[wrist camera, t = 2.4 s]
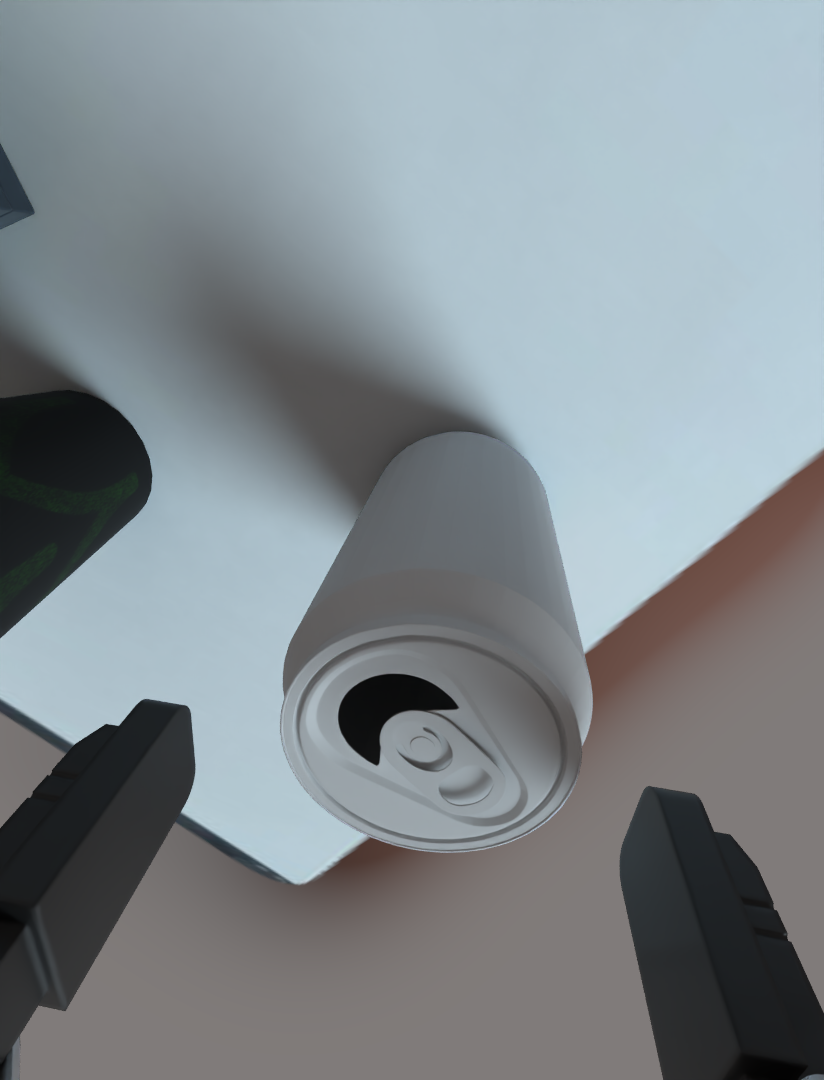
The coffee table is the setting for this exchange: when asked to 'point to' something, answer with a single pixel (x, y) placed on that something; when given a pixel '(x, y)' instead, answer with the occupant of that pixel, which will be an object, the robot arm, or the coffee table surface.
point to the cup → (61, 490)
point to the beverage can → (442, 658)
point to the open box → (11, 195)
